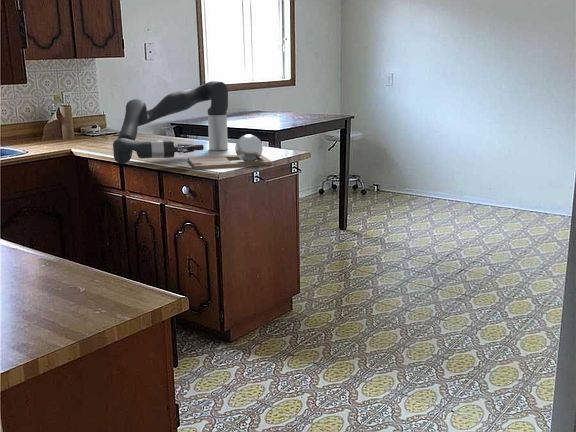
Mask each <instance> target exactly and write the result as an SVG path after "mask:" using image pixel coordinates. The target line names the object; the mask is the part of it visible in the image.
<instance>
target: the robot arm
mask: <svg viewBox="0 0 576 432" xmlns="http://www.w3.org/2000/svg"><path fill="white" fill-rule="evenodd" d="M206 101H210V103H211V104H210V107H209V108H207V126H208V128H207V130H208V148H209V151H226V150H228V148H229V147H228V144H229V143H228V122H227V121H228V115H227V111H228V109H229V90H228V86H227V85H226V84H225V82H223V81H220V80H219V81H217V80H211V81H208V82H206V83H204V84H201V85H198V86H197V87H193V88H188V89H184V90H179V91H176V92H171V93H168V94H166V96H164V97H163V98H162V99H161V100H160V101H159V102H158V103H157V104H156V105H155V106H154V107H153V108H151V109H148V110H147V104H146V102H145V101H144V100H142V99H139V98H138V99H137V98H136V99H130V100H129V101H128V102H127V103H126V105H125V115H124V118H123V123H122V126H121V128H120V131H119V134H118V136H117V139H115V140H114V141H113V143H112V151H113V159H114V160H115V162H116V163H118V164H120V165H121V164H122V165H124V164H127V163H128V162H130V160H132V157H133V151H134V152H135V153H136V154H137V157H138V158H139V159H168V158H172V159H173V158H175V153H178V154H188V153H194V152H195V151H203V150H204V146H205V145H204V144H193V143H187V142H186V143H185V142H184V143H182V142H178V143H177V144H175V142H174V140H173V139H157V140H151V141H149V140H148V141H139V140H136V139H137V135H138V129H139V128H138V127H141V126H144V125H147V124H149V123H151V122H154V121H156V120H159V119H161V118H164V117H167V116H169V115H173V114H177V113H181V112H184V111H186V110H188V109H189V110H190V109H191V108H192V107H194V106H195V105H196V104H198V103H202V102H206Z"/></svg>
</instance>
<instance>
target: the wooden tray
mask: <svg viewBox="0 0 576 432" xmlns="http://www.w3.org/2000/svg"><path fill="white" fill-rule="evenodd" d="M239 160H241V159H240V158H239V157H238V156H237V154H232V155H231V154H229V155H211V156H193V157H187V162H188V163H189V164H190V165H191V167H192V168H193V169H194V170H210V169H225V168H226V169H227V168H242V167H243V168H245V167H247V168H248V167H263V166H272V165H273V161H272V160H270V159H269V158H267V157H266V156H265V155H263V154H261V156H260V157H259V158H258V159H257V160H255V161H242V160H241V161H239Z"/></svg>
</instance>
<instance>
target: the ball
mask: <svg viewBox="0 0 576 432" xmlns="http://www.w3.org/2000/svg"><path fill="white" fill-rule="evenodd" d="M234 150H235V155H237V156H238V157H239V158H240V159H241V161H242V162H244V161H258V160H257V159H258V158H259V157H260V156H261V155H263V150H264V147H263V142H262V141H261V139H260V138H258V137H257V136H256V135H253V134H244V135H242V136H240V137H239V138H238V140H236V142H235V148H234Z"/></svg>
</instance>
